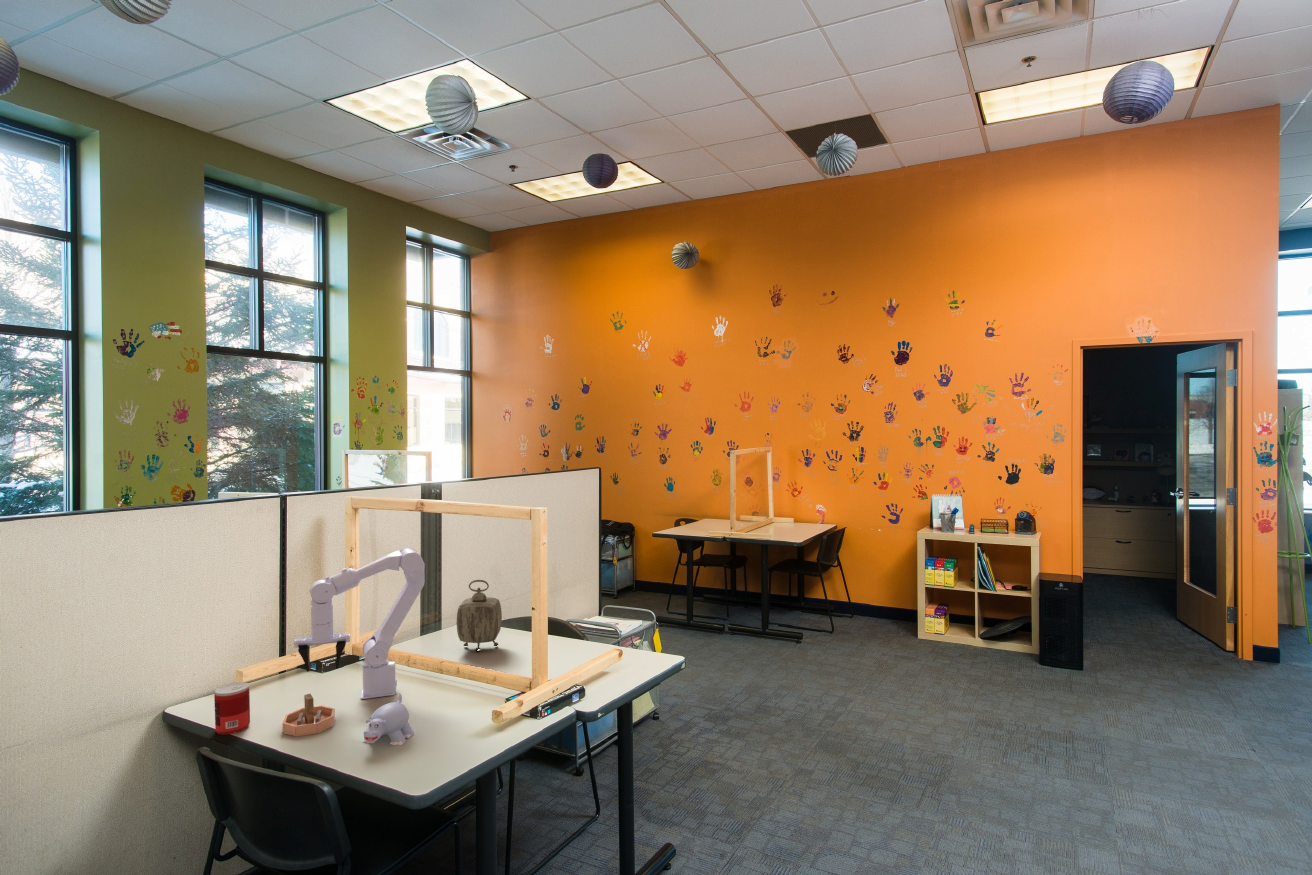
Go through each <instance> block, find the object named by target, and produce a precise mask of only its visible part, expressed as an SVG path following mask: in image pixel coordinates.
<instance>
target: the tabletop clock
mask: <svg viewBox="0 0 1312 875" xmlns="http://www.w3.org/2000/svg"><path fill="white" fill-rule="evenodd" d="M477 582H479V583H483V584H486V585H487V587H486V588H484V589H481V587H477V589H475V588H474V589H473V588H471V585H472V584H473V583H477ZM489 587H490V586H489V583H488V582H487V581H486V580H483V579H475V580H472V581H470V582H469V584H468V589H469V590H470V591H472V592H475V593H473V594H472V596H471V597H469V598H466V599H464V600H463V601H462V602H461V603H460V604H459V606H458V608H457V613H456V632H457V637H458V639H459V641H460V642H463V647H464V646H468V647H469V644H468V643H470V644H471V643H472V644H477V647H476V649H477V650H478V649H481V647H480V644H482V643H490V642H491V643H492V642H493V647H494V646H497V645H498V646H499V643H498V642H496V639H497V638H498V635H499V634H500V631H501V629H502V628H501V627H502V619H503V614H502V604H501V602H500V599H498V598H496V597H492V596H490V597H488V596H487V595H486V594H485V593H484V592H485V591H487V590H488V589H489ZM498 646H497V647H498ZM476 649H475V650H476Z"/></svg>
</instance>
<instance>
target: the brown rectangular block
mask: <svg viewBox="0 0 1312 875" xmlns="http://www.w3.org/2000/svg"><path fill="white" fill-rule="evenodd" d="M303 696H304V697H303V698H304V700H303V701H304V708H305V721H306V723H307V724H311V723H314V706H315V704H314V697H313V696H312V694H311V693H307V694H304V695H303Z"/></svg>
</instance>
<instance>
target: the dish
mask: <svg viewBox="0 0 1312 875" xmlns="http://www.w3.org/2000/svg"><path fill="white" fill-rule="evenodd" d="M335 720H336V708H335V707H331V706H326V705H314V723H311V724H307V723H306V721H305V707H302V708H299V709H296V710H294V711H292V712H289V713H288V714H285V715H284V717H283V720H282V724H281V725H282V734H286V735H290V736H293V737H303V736H309V735H315V734H319V733H321V732H324V731H325V730H327V729H330V728H331V727H334V725H335Z"/></svg>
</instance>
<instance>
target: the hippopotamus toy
mask: <svg viewBox="0 0 1312 875" xmlns="http://www.w3.org/2000/svg"><path fill="white" fill-rule="evenodd" d="M397 694H398V697H397V699H396V700H397V701H395V702H394V701H393V702H388V703H386V704H383V705H381V706H380V707H378V708H377V709H376V710H375V711H374V712H373V713H372V715H371V717H370V718H367V719H366V720H365V723H366V724H368V723H369V724H368V728H366V729H365V730H364V731H363V738H364V740H362V743H367V744H375V743H377V742H378V741H379V740H380V738H381V737H384V736H385V735H387V736H389V739H390V743H389V744H390V745H391V746H392V745H393V746H402V745H403V744H405V743H406V739H410V738H411V737H412V736H414V735H415V732H414V730H413V729H412V726H411V725H410V722H409V719H410V713H409V710H408V708H407V706H406V705H404V704H403V703H402V700H403V696H402V693H401V692H397Z"/></svg>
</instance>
